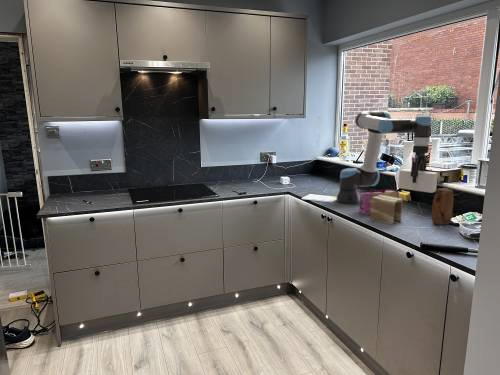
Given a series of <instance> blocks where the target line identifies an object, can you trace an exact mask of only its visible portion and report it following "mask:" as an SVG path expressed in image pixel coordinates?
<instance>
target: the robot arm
mask: <svg viewBox="0 0 500 375" xmlns="http://www.w3.org/2000/svg"><path fill="white" fill-rule="evenodd" d="M354 121H355V122H354V123H355V125H356V127H358V128H359V129H363V130H367V131H368V133H369V134H368V137H367V138H368V139H367V143H366V149H365V154H364V159H363V164H362V165H361V166H359V167H360V168H359V169H358V168H356V167H355V168H354V167H347V168H344V169H342V170H341V171H340V175H339V191H338V194H337V196H336V202H337V203H340V204H347V205H354V204H355V205H356V204H358V203H360V197H359V194H358V191H357V190H358V189H357V188H359V187H360V188H361V187H374V186H376V185H377V184H378V183H379V181H380V179H381V178H380V172H379V169H378V167H377V165H378V164H377V163H378V158H379V156H380V155H379V154H380V151H381V150H380V149H381V144H382V139H383V135H384V134H413V142H412V143H413V147H412V153H415V155H414V157H411V168H410V170H411V176H412V177H413V178H412V188H413V189H417V185H418V177H417V176H418V172H419V171H427V163H428V162H427V159H428V155H426V154H428V153H429V143H430V141H431V139H430V137H431V136H430V135H431V126H432V117H431V116H430V115H417V116H415V119H413V118H405V119H402V118H400V119H398V118H397V119H395V118H392V115H391V114H390V112H388V111H387V110H364V111H361V112H359V113H358V114H357V115H356V116H355V119H354Z"/></svg>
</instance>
